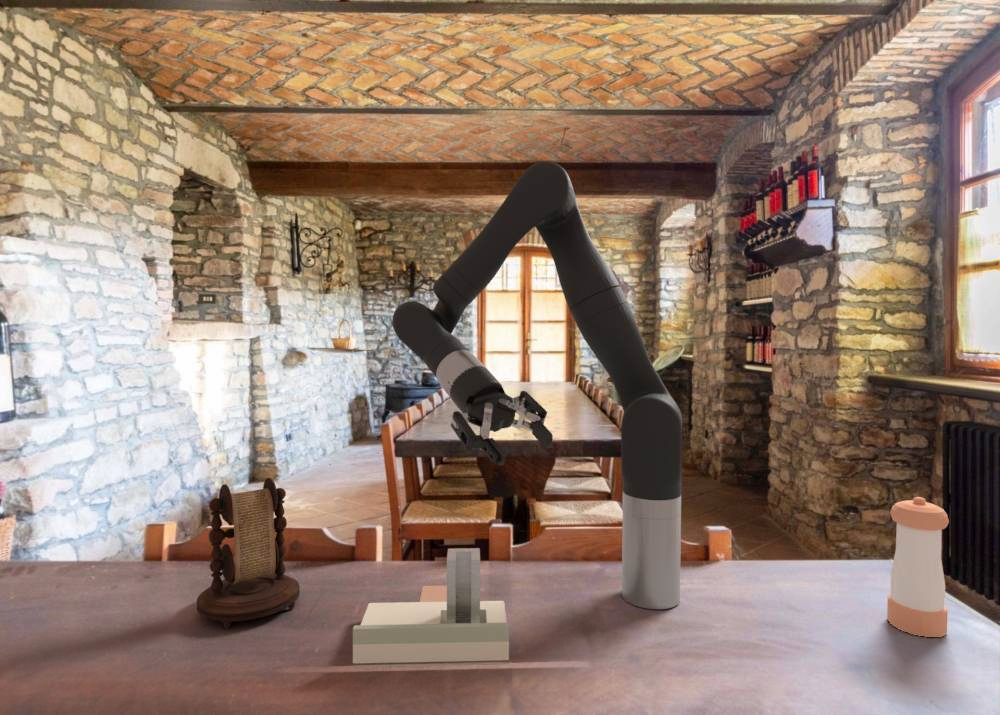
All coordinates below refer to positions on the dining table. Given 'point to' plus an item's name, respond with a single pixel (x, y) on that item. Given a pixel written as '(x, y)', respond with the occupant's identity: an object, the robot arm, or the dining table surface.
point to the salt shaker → (918, 569)
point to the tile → (434, 594)
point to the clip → (463, 585)
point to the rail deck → (429, 635)
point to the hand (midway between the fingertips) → (527, 452)
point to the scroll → (248, 557)
